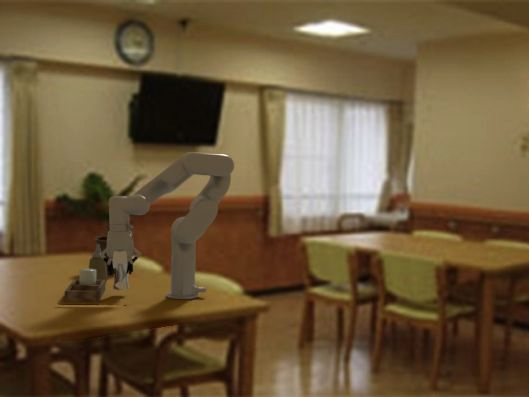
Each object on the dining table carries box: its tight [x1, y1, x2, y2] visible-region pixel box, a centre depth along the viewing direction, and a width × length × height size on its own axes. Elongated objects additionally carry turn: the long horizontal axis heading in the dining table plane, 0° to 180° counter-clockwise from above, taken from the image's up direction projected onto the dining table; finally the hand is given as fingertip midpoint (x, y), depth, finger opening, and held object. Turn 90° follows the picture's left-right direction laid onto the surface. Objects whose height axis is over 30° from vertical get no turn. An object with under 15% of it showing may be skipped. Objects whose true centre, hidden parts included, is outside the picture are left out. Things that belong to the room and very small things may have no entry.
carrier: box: [64, 279, 107, 306], centre depth 267 cm, size 12×23×5 cm, turn 7°
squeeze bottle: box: [88, 244, 109, 282], centre depth 288 cm, size 8×8×18 cm
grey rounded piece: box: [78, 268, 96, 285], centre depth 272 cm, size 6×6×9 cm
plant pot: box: [94, 235, 114, 276], centre depth 323 cm, size 16×16×16 cm
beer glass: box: [111, 251, 130, 291], centre depth 268 cm, size 7×7×15 cm
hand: (120, 273), depth 269 cm, fingers closed on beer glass, 6 cm apart
